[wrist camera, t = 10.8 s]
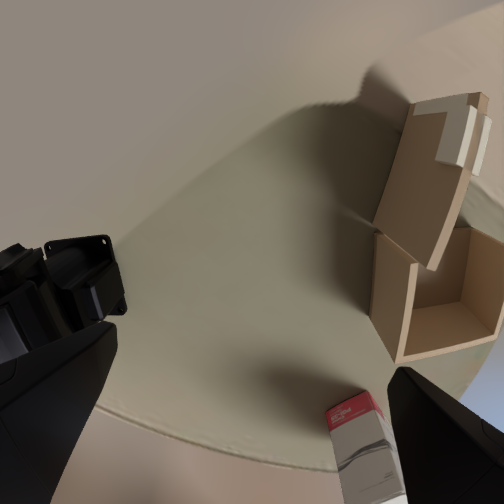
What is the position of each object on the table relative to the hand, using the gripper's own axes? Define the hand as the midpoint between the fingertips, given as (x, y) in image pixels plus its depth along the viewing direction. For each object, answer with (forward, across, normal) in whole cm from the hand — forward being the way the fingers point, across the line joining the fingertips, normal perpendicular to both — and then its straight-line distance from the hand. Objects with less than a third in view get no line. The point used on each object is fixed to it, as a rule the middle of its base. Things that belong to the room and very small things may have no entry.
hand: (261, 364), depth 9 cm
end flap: (+13, -8, -7) cm, 17 cm away
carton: (+13, -13, 0) cm, 18 cm away
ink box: (+13, -14, +17) cm, 26 cm away
